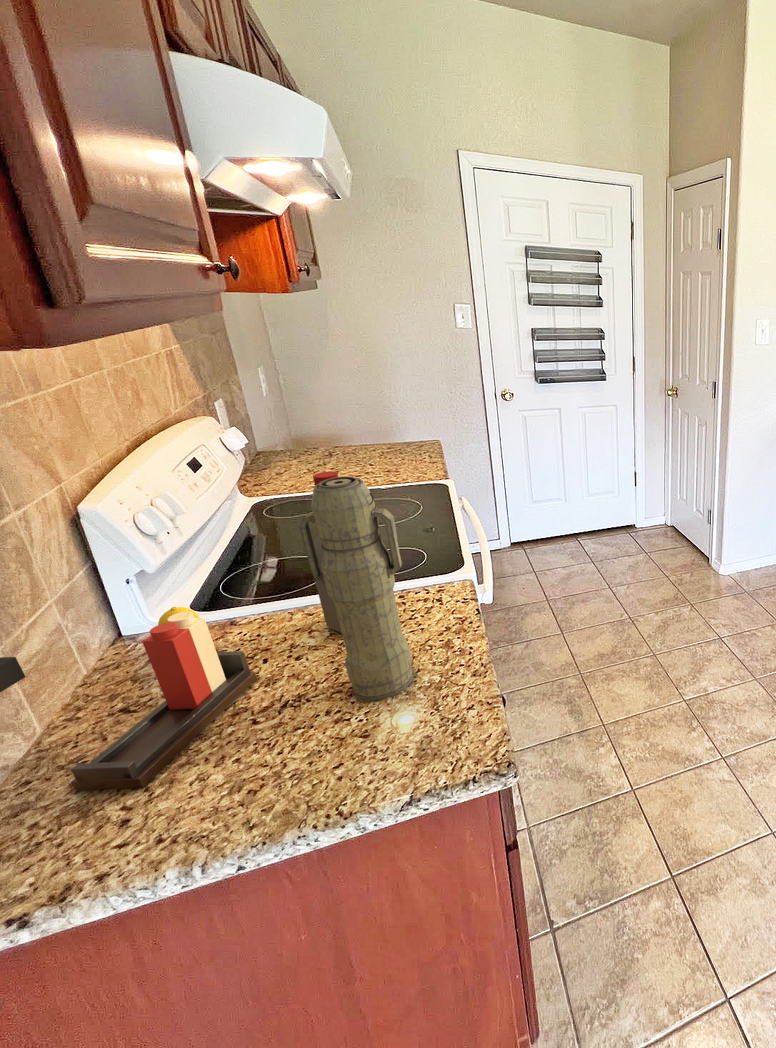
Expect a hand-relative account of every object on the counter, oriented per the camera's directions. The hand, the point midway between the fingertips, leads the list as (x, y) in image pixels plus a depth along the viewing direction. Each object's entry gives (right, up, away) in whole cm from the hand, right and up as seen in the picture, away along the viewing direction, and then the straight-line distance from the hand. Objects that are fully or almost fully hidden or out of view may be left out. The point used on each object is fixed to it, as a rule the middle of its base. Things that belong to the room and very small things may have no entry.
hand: (13, 667), depth 63 cm
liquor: (+9, -4, +47) cm, 48 cm away
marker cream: (-1, -10, +25) cm, 27 cm away
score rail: (-1, -14, +20) cm, 25 cm away
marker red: (-1, -12, +22) cm, 25 cm away
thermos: (+23, -11, +31) cm, 40 cm away
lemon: (-16, -7, +38) cm, 42 cm away
